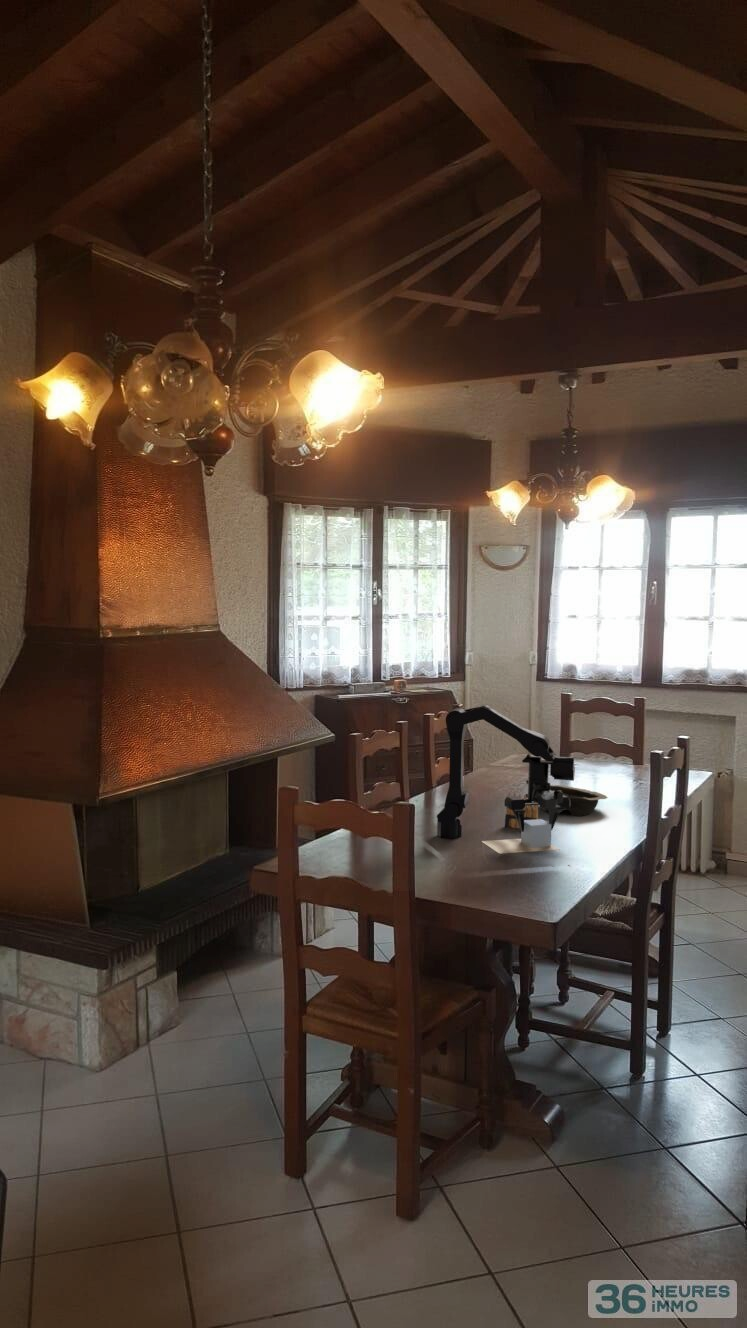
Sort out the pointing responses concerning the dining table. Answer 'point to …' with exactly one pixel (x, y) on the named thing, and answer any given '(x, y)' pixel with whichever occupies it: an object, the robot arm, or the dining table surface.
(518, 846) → the stub board
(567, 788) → the stone bowl
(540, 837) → the pale grey cube
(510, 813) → the ammunition clip
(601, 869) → the dining table surface
